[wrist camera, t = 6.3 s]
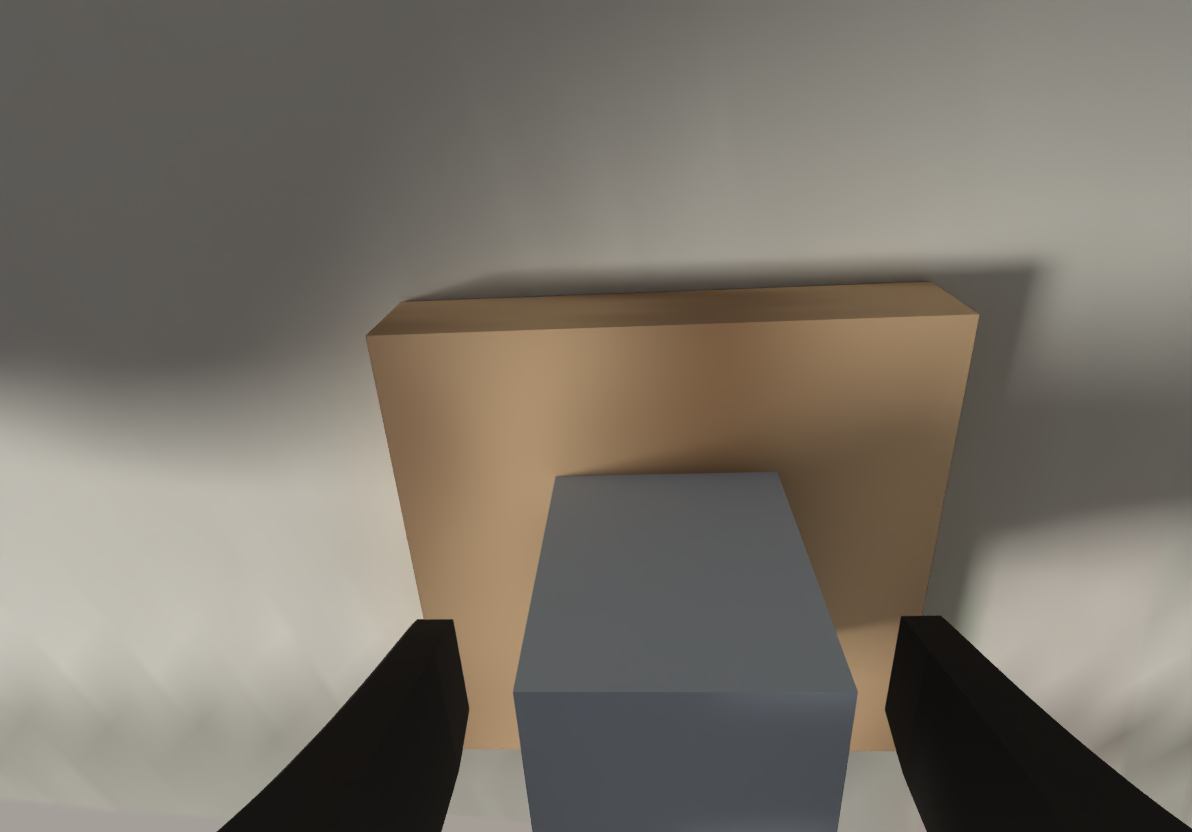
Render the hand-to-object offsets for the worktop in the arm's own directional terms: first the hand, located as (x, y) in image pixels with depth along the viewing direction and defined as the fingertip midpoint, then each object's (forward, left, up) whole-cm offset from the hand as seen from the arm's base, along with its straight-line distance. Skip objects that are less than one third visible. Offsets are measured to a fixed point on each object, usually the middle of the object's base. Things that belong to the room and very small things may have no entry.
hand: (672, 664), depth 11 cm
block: (0, 0, -2) cm, 2 cm away
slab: (0, 0, -4) cm, 4 cm away
